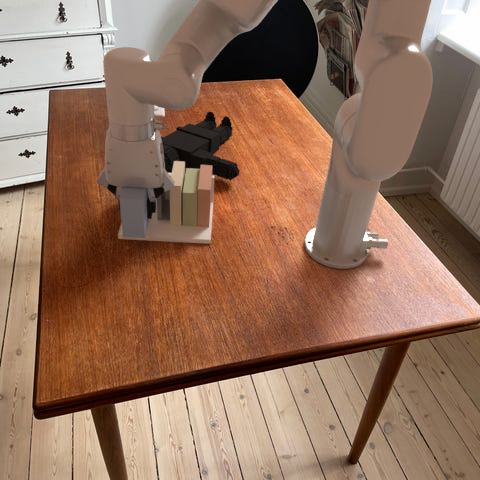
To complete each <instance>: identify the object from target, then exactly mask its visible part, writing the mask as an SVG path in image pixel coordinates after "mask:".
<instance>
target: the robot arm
mask: <svg viewBox="0 0 480 480" xmlns="http://www.w3.org/2000/svg"><path fill="white" fill-rule="evenodd" d="M198 1H199V2H198V3H197V4H196V5H195V7H193V9H192V10H191V12H190V13H189V14H188V16H187V17H186V18H185V20H183V22H182V24H181V25H180V26H179V28H178V29H177V30H176V32H175V33H174V35H173V36H172V37H171V39H170V40H169V41H168V43H167V44H166V45H165V47H164V49H163V50H162V52H161V54H160V55H159V57H158V59H157V60H153V59H152V57H151V55H150V53H148V52H147V51H145V50H144V49H141V48H136V47H129V46H125V47H124V46H123V47H116V48H112V49H111V50H108V51H107V52H106V53H105V55H104V57H103V61H102V62H103V63H102V64H103V77H104V85H105V86H104V87H105V96H106V106H107V115H108V128H107V129H106V134H105V142H104V168H103V169H102V171H101V172H100V174H99V175H98V177H97V179H96V183H97V184H99V185H100V186H102V187H103V188H106V189H107V190H108V191H109V192H110V193H111V194H113V195H114V196H115V199H116V200H117V201H118V210H119V212H121V211H120V200H119V198H120V195H121V192H122V189H123V187H138V188H146V190H147V193H148V199H147V217H148V219H151V218H152V213H155V212H156V199H157V198H158V197H159V196H160V195H162V194H163V193H164V192H165V191H168V190H170V189H172V188H174V184H175V182H174V180H173V179H172V178H171V177H170V175H169V174H168V173H167V171H166V170H165V163H164V152H163V144H162V139H161V136H162V135H161V132H160V130H164V127H165V126H164V121H160V120H159V119H157V117H155V115H154V106H158V107H161V108H165V110H170V111H184V110H187V109H189V108H190V107H192V106H193V105H195V103H196V102H197V100H198V97H199V96H200V95H199V94H200V91H201V86H202V80H203V76H204V73H205V72H206V70H208V68H209V67H210V65H211V64H212V63H213V61H215V59H216V57H217V56H218V55H219V54H220V52H221V51H222V50H223V49H224V48H225V47H226V46H227V45H228V44H229V43H230V42H231V41H232V40H233V39H234V38H236V37H237V36H238V35H241V34H243V33H244V34H245V33H246V32H250V31H252V30H253V29H255V28H256V27H257V26H259V24H260V23H262V21H263V20H264V18H265V17H266V16H267V15H268V14H269V12H270V11H271V10H272V8H273V7H274V6H275V4H277V2H278V1H279V0H198ZM431 5H432V0H368V3H367V10H366V13H365V16H364V22H363V26H362V29H361V35H360V38H359V42H358V45H357V49H356V52H355V57H354V63H353V68H354V74H355V77H356V80H357V83H358V84H359V86H360V89H361V91H360V92H358V93H355V94H352V95H351V96H350V97H349V98H347V99H346V100H345V101H344V102H343V104H342V105H341V106H340V108H339V110H338V112H337V114H336V117H335V121H334V126H333V135H332V143H331V151H330V158H329V162H328V163H329V164H328V168H327V174H326V177H325V183H324V187H323V191H322V196H321V201H320V206H319V210H318V215H317V219H316V225H315V227H314V228H312V229H311V230H309V231H308V232H307V233H306V236H305V240H304V248H305V250H306V252H307V254H308V255H309V256H310V257H311V258H312V259H313V260H315V261H316V262H318V263H320V264H321V265H324V266H326V267H329V268H331V269H332V268H333V269H340V270H345V269H346V270H348V269H354V268H356V267H359V266H361V265H363V264H364V263H365V262H366V260H367V258H368V255H369V250H371V249H373V248H376V249H388V247H389V246H388V245H389V241H388V239H387V238H379V232H378V231H367V230H368V226H369V223H370V219H371V217H372V212H373V211H374V210H373V209H374V207H375V203H376V199H377V195H378V193H379V189H380V187H381V183H382V181H387V180H388V179H390V178H392V177H393V176H395V175H396V174H397V173H398V172H400V171H401V170H402V168H403V167H404V166H405V164H406V163H407V161H408V159H409V158H410V156H411V154H412V151H413V149H414V146H415V143H416V140H417V137H418V133H419V132H420V128H421V127H422V123H423V120H424V117H425V114H426V111H427V108H428V105H429V101H430V100H431V99H430V98H431V96H432V91H433V90H432V89H433V83H434V80H433V79H434V76H433V69H432V64H431V62H430V60H429V58H428V56H427V54H426V53H425V52H424V51H423V49H422V45H421V44H422V39H423V38H422V37H423V35H424V34H423V33H424V30H425V27H426V23H427V20H428V15H429V10H430V7H431ZM162 181H163V182H164V183H163V184H162Z"/></svg>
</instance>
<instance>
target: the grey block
mask: <svg viewBox="0 0 480 480" xmlns="http://www.w3.org/2000/svg"><path fill="white" fill-rule="evenodd" d="M147 199H148V193H147V190H146V188H138V187H123V189H122V192H121V195H120V198H119V200H120V211H119V212H120V220H121V222H120V223H122V232H123V237H133V238H145V235H146V231H147V226H148V222H149V219H148V217H147Z"/></svg>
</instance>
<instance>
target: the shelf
mask: <svg viewBox="0 0 480 480" xmlns="http://www.w3.org/2000/svg"><path fill="white" fill-rule="evenodd" d="M168 174H169V175H170V177H171V178H172V179H173V180H174V182H175V184H174V188H172V189H170V190H168V191H165V192H164V193H163V194H162V195H160V196H159V197H158V198H157V199H156V212H155V213H152V218H151V219H149V222H148V226H147V231H146V235H145V238H133V237H123V232H122V222H120V226H119V229H118V233H117V238H118V240H131V241H132V240H133V241H135V240H136V241H148V242H149V241H150V242H151V241H154V242H155V241H156V242H170V243H189V244H192V243H193V244H206V245H207V244H211V242H212V228H213V227H212V225H213V214H214V213H213V211H214V198H215V197H214V195H215V194H214V193H215V176H216V175H213V174H212V165H201V166H200V169H194V168H185V162H183V161H174V164H173V169H172V173H168ZM163 183H164V182H163V181H162V184H163Z"/></svg>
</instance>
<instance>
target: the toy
mask: <svg viewBox="0 0 480 480" xmlns="http://www.w3.org/2000/svg"><path fill="white" fill-rule="evenodd" d="M215 116H216V115H215V113H214V112H213V111H210V110H209V111H208V112H207V113H206V115H205V116H204V117H205V118H203V120H201V121H200V122H198V123H196V124H192V123H187V124H184V125H183V126H180V125H179V126H177V127H176V128H175V130H174V131H173V132H170V133H169V134H167V135H165V136H162V135H161V139H162V144H163V152H164V163H165V170H166V171H167V173H172V169H173V164H174V161H183V162H185V169H186V168H194V169H200V166H201V165H212V175H215V176H216V177H219V178H222V179H225V180H229V181H232V180H234V179H235V178H237V177H239V175H240V171H241V170H240V169H239V167H238V166H239V165H238V164H237V162H234V161H232V160H229V159H225V158H222V157H220V156H217V155H214V153H217V152H218V151H220V144H222V143H223V142H225V141H226V140H228V139H229V138H231V137H233V136H232V135H233V126H232V121H231V120H232V119H231V118H230V117H229V116H226V115H225V116H224V117H222V119H221V123H219V124H218V125H217V121H216V117H215Z"/></svg>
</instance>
